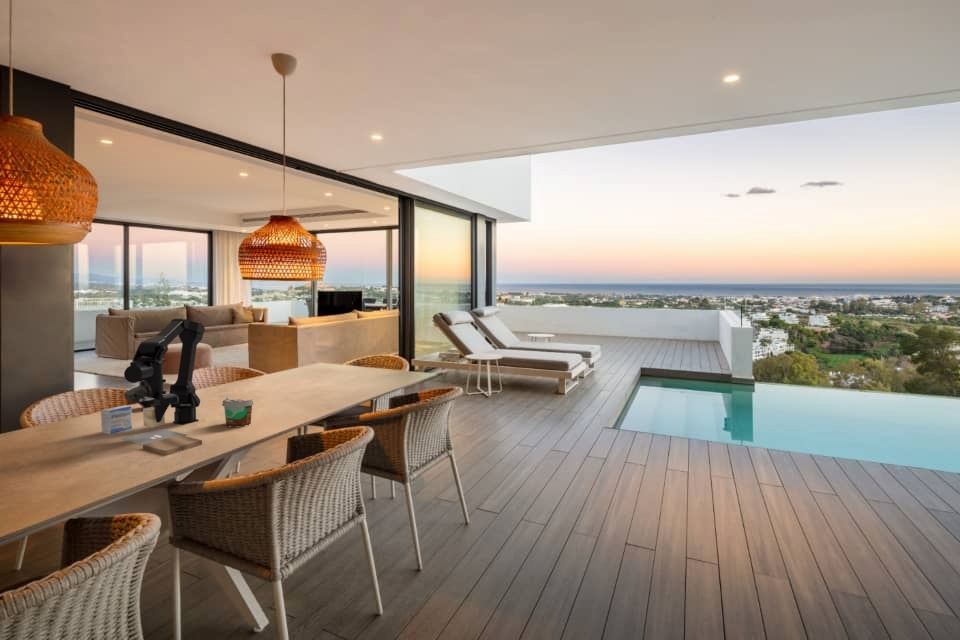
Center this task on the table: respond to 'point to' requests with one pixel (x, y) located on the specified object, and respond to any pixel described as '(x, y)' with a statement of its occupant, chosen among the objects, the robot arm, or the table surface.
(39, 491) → the table surface
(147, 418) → the maple block
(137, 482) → the table surface
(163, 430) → the tile
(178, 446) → the walnut board
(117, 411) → the medicine box
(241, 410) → the food container
